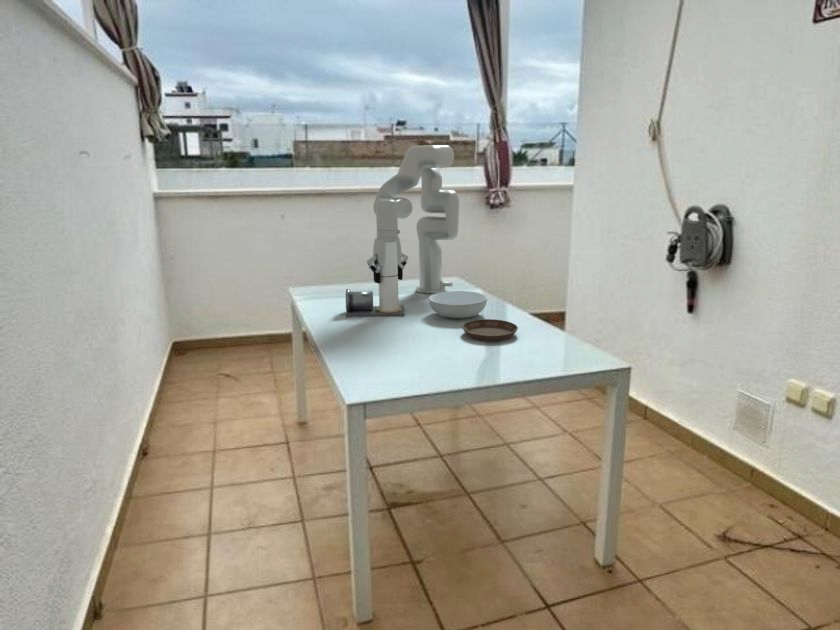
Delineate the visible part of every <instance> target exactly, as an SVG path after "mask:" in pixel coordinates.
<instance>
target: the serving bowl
mask: <svg viewBox="0 0 840 630" xmlns="http://www.w3.org/2000/svg"><path fill="white" fill-rule="evenodd" d="M428 301H429V306H430V307H431V309H432V310H433V311H434V312H435V313H436V314H438V315H439V316H442V317H445V318H450V319H456V320H457V319H458V320H459V319H467V318H471V317H474V316H476V315H479V314H480V313H481V312H483V311H484V309H485V308H486V305H487V301H488V296H487V295H486V294H483V293H482V292H481V293H480V292H476V291H471V290H470V291H467V290H449V291H444V292H440V293H432V295H430V296H429V297H428Z"/></svg>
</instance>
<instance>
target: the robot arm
mask: <svg viewBox="0 0 840 630" xmlns="http://www.w3.org/2000/svg"><path fill="white" fill-rule="evenodd" d="M404 154H405V155H404V157H403V159H402V162H401V164H400V167H399V168H398V169H399V170H398V171H397V174H396V173H395V175H393V176H392V177H390V178H389V179H388V180H387V181H385V182H384V183H383V184H382V185H381V186H380V187H379V190H378V191H377V194H376V196H375V199H374V203H373V213H374V215H375V218H376V219H375V220H376V238H374V241H373V242H374V243H373V247H372V248H373V249H372V250H373V251H372V256H371V257H370V258H369V259H366V264H367V266H368V268H369V269H370V270H371V271H372V273H373V282H374V283H376V284H378V285H379V283H380V272H379V270H380V269H381V267H384V266H385V259H386V246H385V243H386V242H395V241H397V264H398V281H402V280H403V278H404V277H403V276H404V274H403V271H404V269H405V266H406V264H407V262H408V260H409V255H406V254H404V253H402V245H401V241H400V237H398V236H399V234H401V230H400V229H398V225H399V224H398V219H406V218H408V217H410V216H411V214H412V212H413V204H412V202H411V200H410V199H409V198H407V197H394V196H396V195H398V194H400V193H403V192H406V191H408V190H412V189H413V188H415V187H417V185H418V184H419V181H420V179H421V188H420V189H421V190H420V191H421V192H420V195H421V196H420V208H421V210H422V211H423V212H424V213H429V214H445V216H430V215H429V216H428V215H425V216H423V217H420V218H419V219H418V220H417V222H416V234H417V239H418V247H419V248H418V252H419V253H418V258H419V259H418V260H419V261H418V263H419V264H418V265H419V267H418V269H419V273H418V274H419V278H418V280H419V286H417V287H416V288H415V291H416V292H418V293H422V294H436V293H441V292H446V287H453V282H452V281H444V280H443V277H442V274H443V273H442V272H443V269H442V265H443V264H442V259H443V257H442V255H443V254H442V253H443V252H442V247H441V245H440V243H439V242H438V240H439V241H453V240H455V239H456V238H457V237H458V232H459V219H460V198H459V196H458V195H459V194H458V193H457V192H456V191H455V190H452V189H451V190H450V189H443V176H442V175H441V173H440V171H439V170H438V169H443V168H445V169H446V168H449V167H451V166H452V164H453V163H454V161H455V154H454V149H453V148H452V147H451V146H450V145H446V144H445V145H443V144H442V145H435V144H434V145H433V144H432V145H413V146H412V145H411V146H410V147H409V148H408V149H407V150H406V152H405V153H404ZM378 263H379V264H378Z"/></svg>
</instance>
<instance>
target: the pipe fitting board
mask: <svg viewBox="0 0 840 630" xmlns="http://www.w3.org/2000/svg"><path fill="white" fill-rule="evenodd" d="M345 289H346V290H345V309H346V313H345V317H346V318H372V317H373V318H379V317H382V318H384V317H385V318H386V317H387V318H388V317H405V306H404V305H399V309H397V310H393V311H383V310H380V305H374V291H372V290H371V291H370V290H369V291H352V290H351V289H350V288H345Z"/></svg>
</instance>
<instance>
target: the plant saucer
mask: <svg viewBox="0 0 840 630" xmlns="http://www.w3.org/2000/svg"><path fill="white" fill-rule="evenodd" d="M461 328H462V330H463V332H464V333H465V334H466V335H467V337H469V338H470V339H472V340H475V341H481V342H501V341H506V340H509V339H511V338H512V337H513V336H514V335H515V334H516V333H517V331H518V329H519V328H518V326H517V324H516V323H513V322H510V321H506V320H504V319H503V320H502V319H492V318H488V319H487V318H484V319H482V318H481V319H475V320H470V321H466V322H465V323H464V324H462V325H461Z"/></svg>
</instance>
